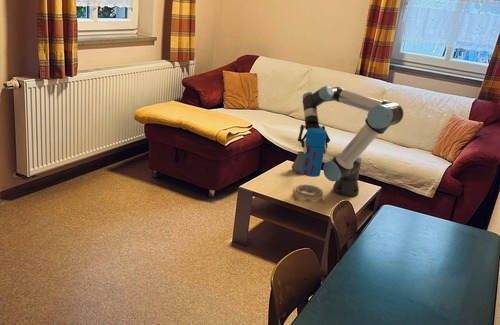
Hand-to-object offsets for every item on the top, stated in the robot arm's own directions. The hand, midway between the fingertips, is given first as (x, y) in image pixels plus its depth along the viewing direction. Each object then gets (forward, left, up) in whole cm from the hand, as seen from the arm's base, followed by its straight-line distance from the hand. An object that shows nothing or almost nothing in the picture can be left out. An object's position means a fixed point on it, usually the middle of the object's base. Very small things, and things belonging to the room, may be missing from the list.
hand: (315, 153), depth 265 cm
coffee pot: (+2, -37, -27) cm, 46 cm away
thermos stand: (0, -2, -26) cm, 26 cm away
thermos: (+1, -3, -13) cm, 14 cm away
